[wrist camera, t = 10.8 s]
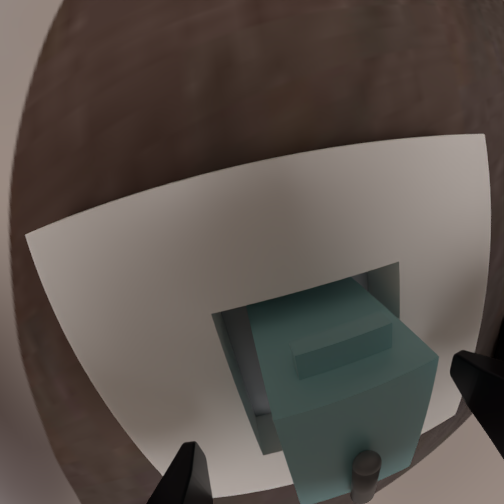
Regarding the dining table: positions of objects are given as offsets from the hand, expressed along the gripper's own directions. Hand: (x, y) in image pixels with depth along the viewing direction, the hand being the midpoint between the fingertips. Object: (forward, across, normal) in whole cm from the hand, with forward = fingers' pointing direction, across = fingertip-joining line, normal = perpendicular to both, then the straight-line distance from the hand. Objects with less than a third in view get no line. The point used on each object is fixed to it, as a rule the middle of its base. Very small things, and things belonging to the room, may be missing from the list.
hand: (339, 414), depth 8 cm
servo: (+4, 0, 0) cm, 4 cm away
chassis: (+5, 0, 0) cm, 5 cm away
